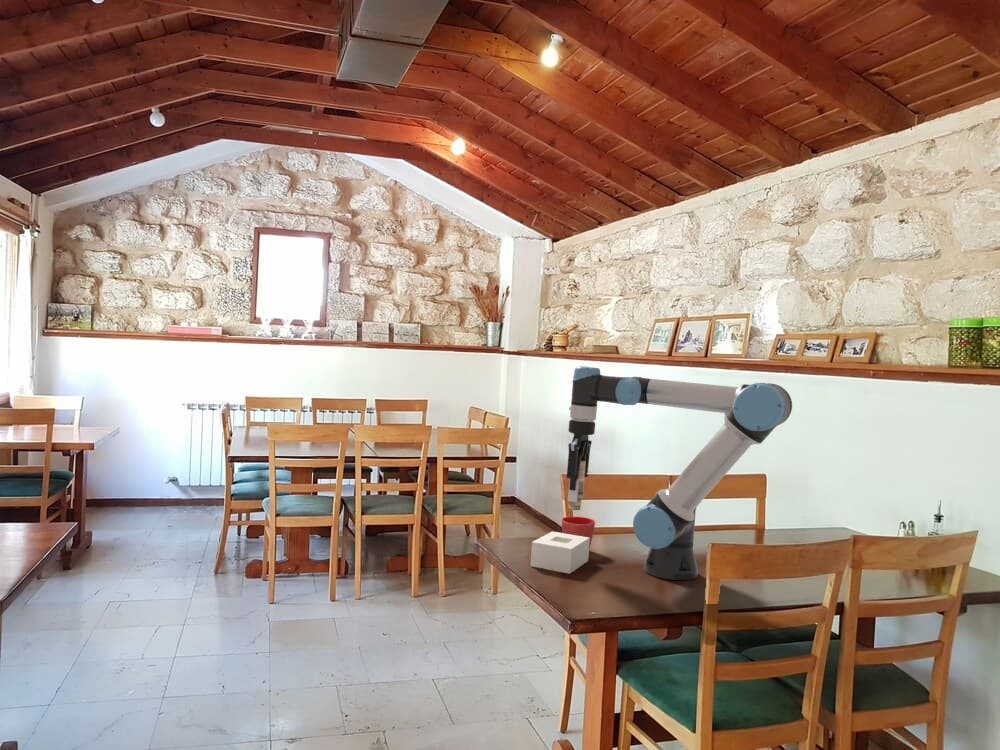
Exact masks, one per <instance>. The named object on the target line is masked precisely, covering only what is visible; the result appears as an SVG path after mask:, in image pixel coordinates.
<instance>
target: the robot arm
mask: <svg viewBox="0 0 1000 750" xmlns="http://www.w3.org/2000/svg"><path fill="white" fill-rule="evenodd" d="M571 390H572V391H571V402H570V407H569V408H568V409H569V411H570V412H569V413H570V414H569V417H570V419H569V420H568V432H569V433H570V434H573V437H572V441H571V442H569V443H568V446H567V447H568V456H567V468H566V470H567V471H566V479H569V480H568V490H567V502H569V501H572V502H577V498H578V487H579V479H578V475H579V469H580V463H581V460H582V461H585V462H586V464H585V475H584V481H585V480H586V479H585V478H588V477H589V474H588V473H589V464H590V455H591V446H592V442H593V441H592V440H590V438H589V436H593V435H595V432H596V431H595V429H596V422H595V421H596V419H597V411H598V402H603V403H609V404H610V403H611V404H618V405H621V406H622V405H623V406H635V405H637V404H643V405H644V404H645V405H652V406H653V405H654V406H661V407H662V406H663V407H668V408H669V407H671V408H678V409H687V410H695V411H705V412H711V413H720V414H723V419H724V423H723V424H722V426H720V428H719V429H718V430H717V432H715V434H714V435H713V436H712V437H711V438H710V439H709V441H708V442H707V443H706V444H705V446H704V447H703V448H702V449H701V450H700V452H698V454H697V455H696V456H695V457H694V458H693V460H692V461H691V462H690V463H689V464H688V465H687V466H686V468H684V470H683V471H682V472H681V474H680V475H679V476H678V477H677V478H676V479H675V481H674V482H673V483H672V484H670V486H669V487H668V488H665V489H662V488H661V489H659V490H658V492H655V495H654V496H653V497H652V499H650V501H649V502H648V503H647V504H646V505H645V506H642V507H641V508H640V509H639V510H637V512H636V514H635V515H634V517H633V520H632V528H633V533H634V535H635V537H636V538H637V540H638V542H640V543H641V544H642V545H643V546H645V547H646V548H649V550H648V553H647V555H646V557H645V559H644V563H643V564H644V565H643V571H644V572H645V573H646V574H649V575H651V576H653V577H656V578H660V579H664V580H665V579H666V580H673V581H689V580H690V581H691V580H694V579H696V578H698V575H699V574H698V572H699V569H698V563H697V560H696V555H695V551H694V538H695V527H696V526H695V525H696V513H697V512H696V511H697V507H698V506H699V505H700V504H701V502H702V501H704V499H705V498H706V497H707V496H708V495H709V493H711V491H712V490H713V489H714V488H715V487H716V486H717V485H718V483H719V482H720V481H721V480H722V479H723V478H724V477H725V475H726V474H727V473H728V472H729V471H730V470H731V469H732V467H733V466H734V465H735V464H736V463H737V462H738V461H739V460H740V458H741V457H742V456H743V455H744V454H745V453H746V452H747V451H748V450H749V448H750V447H751V446H752V445H761V444H762V443H763V442H764V441H765V440H766V438H767V437H768V436H770V434H771V433H772V432H773V431H774V429H776V427H778V426H781V425H782V424H783V423H785V422H786V421H787V420H788V418H789V417H790V415H791V413H792V410H793V401H792V398H791V395H790V393H789V392H788V391H787V390H786V389H785V388H784V387H782V386H780V385H778V384H775V383H770V382H769V383H768V382H767V383H766V382H756V383H755V382H754V383H751V384H746V383H743V384H741V385H740V386H730V385H729V386H728V385H719V384H718V385H717V384H709V383H699V382H698V383H697V382H686V381H679V380H678V381H677V380H669V379H667V380H665V379H657V378H656V379H655V378H648V377H647V378H646V377H642V376H627V377H626V376H610V375H603V374H601V369H600V368H599V367H594V366H593V367H592V366H581V365H579V366H576V367H575V368H574V372H573V379H572V389H571ZM584 488H585V485H584V486H583V492H584V491H585V490H584ZM583 497H584V495H583V496H582V500H583V499H584V498H583Z"/></svg>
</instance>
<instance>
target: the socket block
mask: <svg viewBox="0 0 1000 750" xmlns="http://www.w3.org/2000/svg"><path fill="white" fill-rule="evenodd" d="M589 541H590V538H589V537H583V536H577V535H571V534H565V533H562V532H558V531H550V532H548V533H545V535H543V536H541V537H539V538H537V539H535V540H533V541H531V550H530V551H531V552H530V566H529V567H534V568H538V569H542V568H543V570H548V571H554V572H559V573H564V574H571V573H573V572H575V571H576V570H577V569H579V568H580V567H581V566H583V565H584V564H586V563H587V562H589V555H590V554H589V553H590V549H589Z"/></svg>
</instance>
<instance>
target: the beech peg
mask: <svg viewBox="0 0 1000 750" xmlns="http://www.w3.org/2000/svg"><path fill="white" fill-rule="evenodd" d="M585 464H586V462H585V461H582V460H581V463H580V469H579V475H578V479H579V487H578V498H577V502H572V501H568V509H569V510H572V511H580V510H581V507H582V505H581V503H582V500H583V499H582V496H583V497H584V491H583V486H584V487H585V480H584V475H585Z"/></svg>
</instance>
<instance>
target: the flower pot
mask: <svg viewBox="0 0 1000 750" xmlns="http://www.w3.org/2000/svg"><path fill="white" fill-rule="evenodd" d="M595 524H596V521H595V520H594V519H592V518H589V517H584V516H565V517H562V518H561V531H562V532H561V533H565V534H571V535H577V536H583V537H589V538H590V541H589V550H591V545H592V540H593V537H594V536H593V535H594V532H595V531H594V530H595V526H596V525H595Z"/></svg>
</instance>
